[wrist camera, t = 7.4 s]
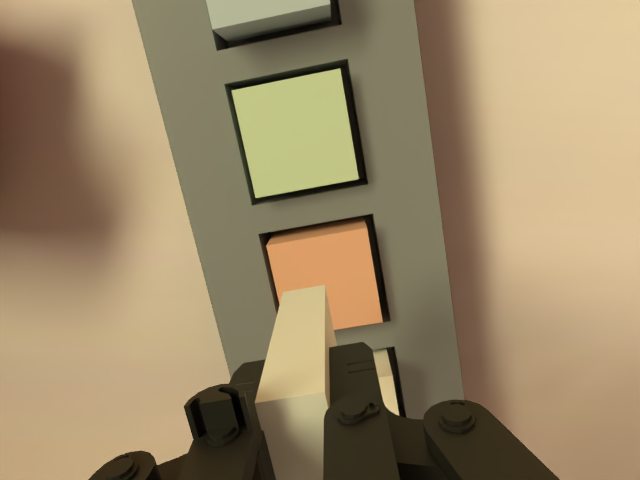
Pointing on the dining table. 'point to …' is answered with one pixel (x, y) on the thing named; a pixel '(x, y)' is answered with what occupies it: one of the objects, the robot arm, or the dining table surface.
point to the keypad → (319, 202)
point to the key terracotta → (329, 268)
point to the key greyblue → (264, 16)
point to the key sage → (296, 133)
